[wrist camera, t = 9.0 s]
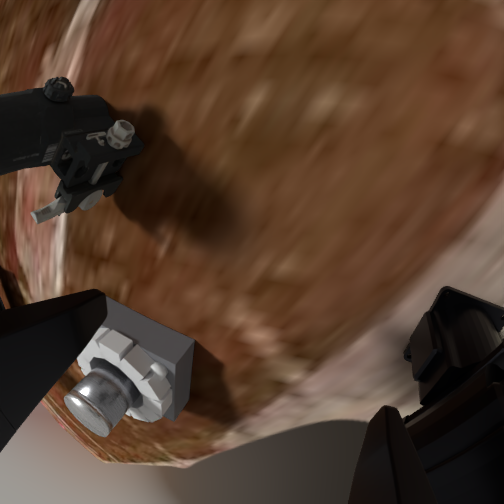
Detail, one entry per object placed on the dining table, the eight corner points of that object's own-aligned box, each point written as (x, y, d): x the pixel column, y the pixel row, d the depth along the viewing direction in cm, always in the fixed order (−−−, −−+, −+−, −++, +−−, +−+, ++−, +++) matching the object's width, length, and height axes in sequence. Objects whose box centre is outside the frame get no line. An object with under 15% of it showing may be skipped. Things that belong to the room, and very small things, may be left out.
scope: (-33, 272, 12) (-74, 163, 11) (109, 202, 24) (55, 128, 23) (-29, 170, 8) (-60, 63, 7) (159, 128, 20) (92, 56, 19)
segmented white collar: (195, 338, 26) (163, 378, 22) (188, 400, 31) (165, 436, 27) (102, 292, 29) (65, 320, 24) (111, 359, 34) (84, 386, 29)
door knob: (116, 344, 26) (68, 391, 20) (155, 382, 26) (113, 434, 20) (102, 360, 28) (60, 402, 22) (136, 394, 28) (99, 439, 22)
